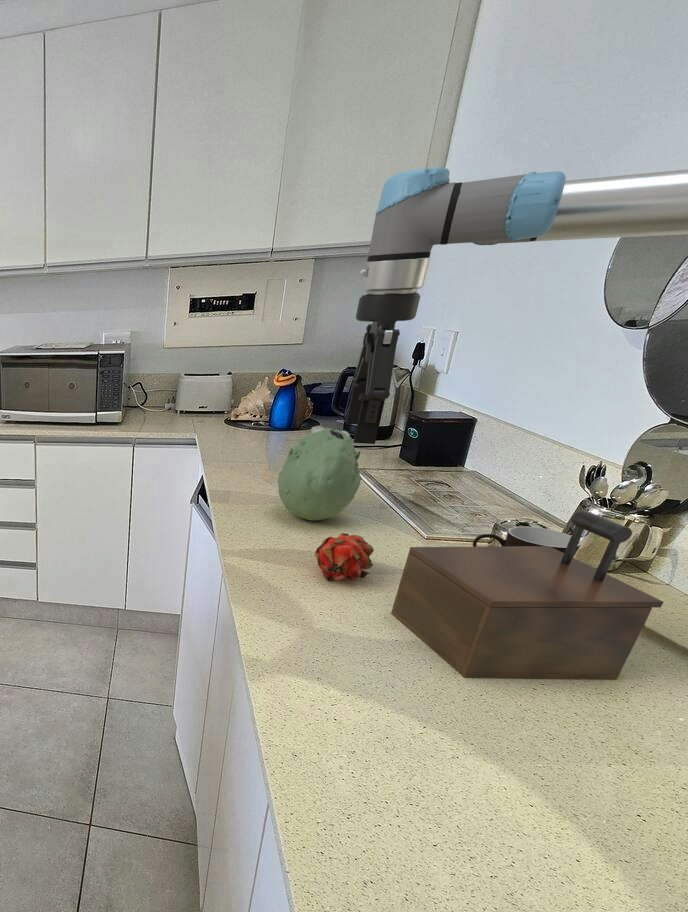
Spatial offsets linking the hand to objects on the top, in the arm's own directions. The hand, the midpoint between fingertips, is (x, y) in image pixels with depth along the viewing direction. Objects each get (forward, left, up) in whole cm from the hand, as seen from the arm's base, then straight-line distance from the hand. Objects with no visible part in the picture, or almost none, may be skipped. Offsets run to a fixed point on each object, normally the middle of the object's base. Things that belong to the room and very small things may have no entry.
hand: (359, 433), depth 94 cm
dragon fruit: (-2, +1, -26) cm, 26 cm away
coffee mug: (-28, +5, -26) cm, 38 cm away
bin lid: (-13, +22, -15) cm, 30 cm away
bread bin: (-13, +22, -26) cm, 36 cm away
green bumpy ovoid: (-10, -28, -26) cm, 40 cm away
